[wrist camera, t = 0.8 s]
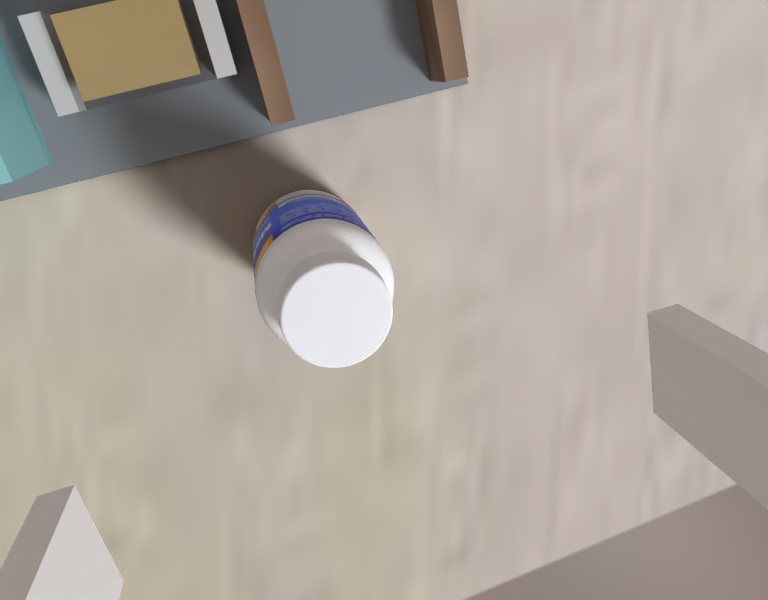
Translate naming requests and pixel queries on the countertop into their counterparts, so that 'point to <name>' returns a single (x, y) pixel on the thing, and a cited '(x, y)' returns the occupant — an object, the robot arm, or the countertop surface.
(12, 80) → the teal open box
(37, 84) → the mat
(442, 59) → the trough
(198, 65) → the pad
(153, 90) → the cradle base
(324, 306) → the pill bottle
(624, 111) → the countertop surface
